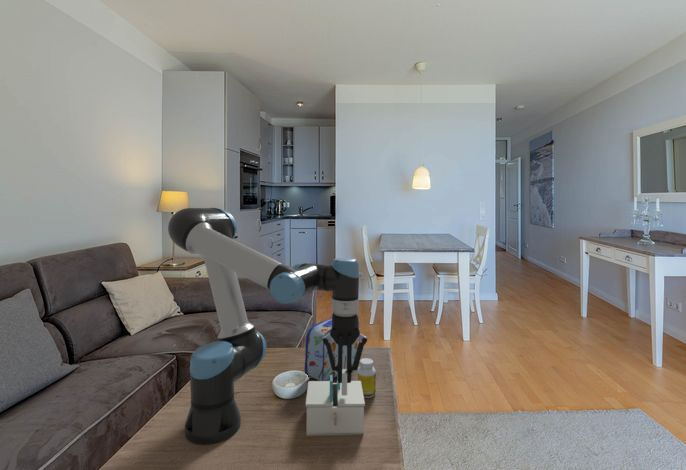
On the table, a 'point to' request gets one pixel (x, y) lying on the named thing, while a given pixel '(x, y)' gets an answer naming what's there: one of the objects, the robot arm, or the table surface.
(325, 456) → the table surface
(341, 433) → the carton
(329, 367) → the lunch box
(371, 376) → the pill bottle
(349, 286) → the robot arm
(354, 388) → the far flap
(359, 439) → the table surface
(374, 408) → the table surface
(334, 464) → the table surface
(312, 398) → the flap
